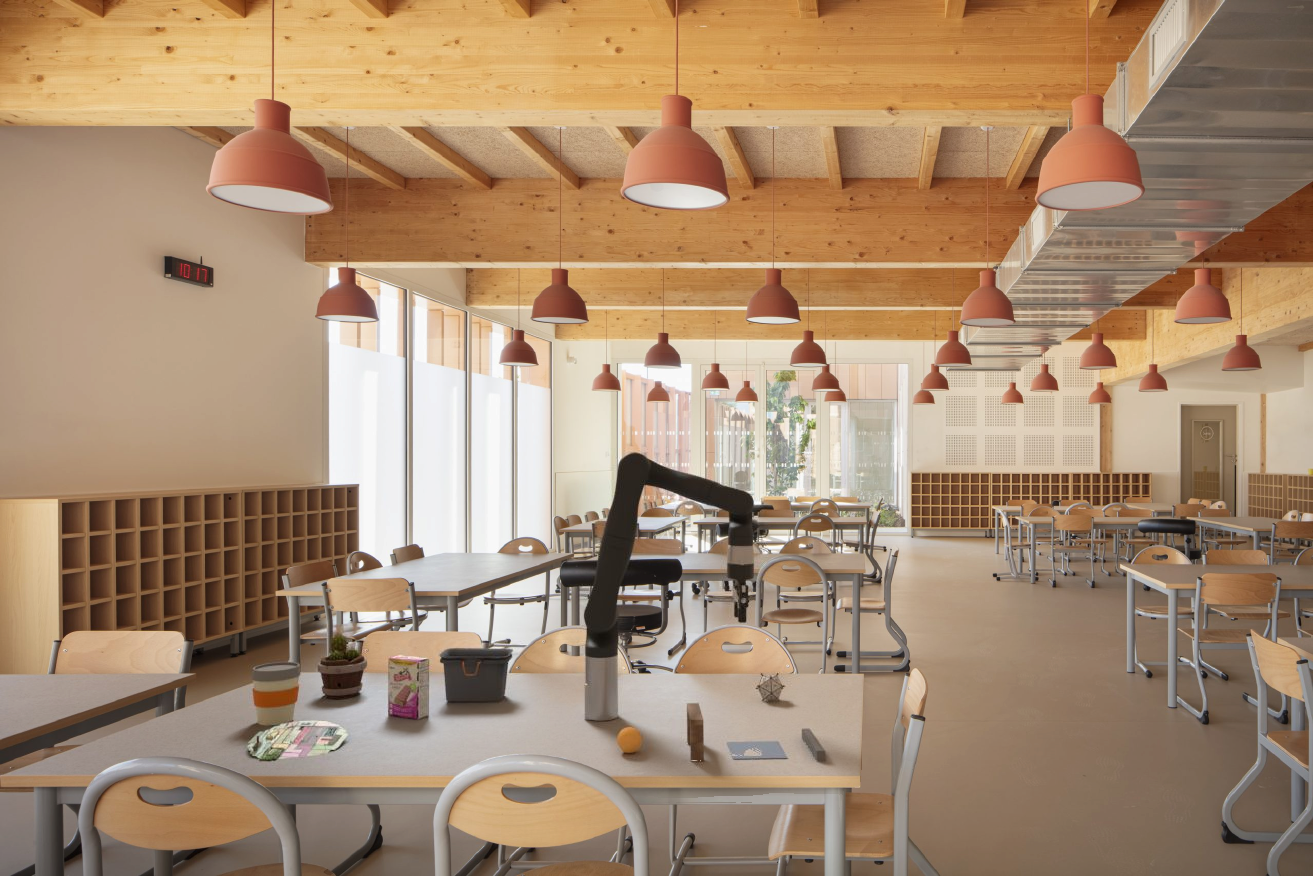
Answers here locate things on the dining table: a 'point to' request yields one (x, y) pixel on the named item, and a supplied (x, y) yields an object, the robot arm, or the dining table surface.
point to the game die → (770, 687)
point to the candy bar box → (408, 687)
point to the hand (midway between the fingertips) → (740, 619)
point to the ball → (629, 740)
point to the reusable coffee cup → (275, 691)
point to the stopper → (813, 744)
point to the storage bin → (475, 674)
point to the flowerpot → (341, 670)
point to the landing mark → (767, 747)
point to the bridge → (695, 731)
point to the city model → (297, 740)
